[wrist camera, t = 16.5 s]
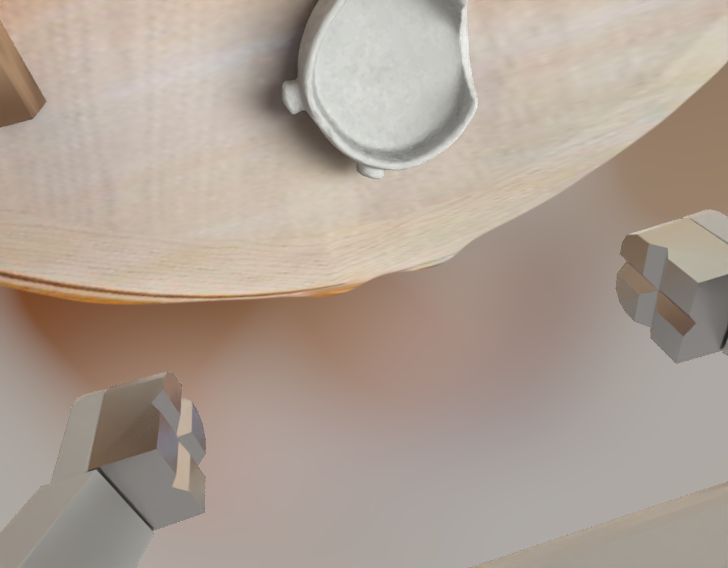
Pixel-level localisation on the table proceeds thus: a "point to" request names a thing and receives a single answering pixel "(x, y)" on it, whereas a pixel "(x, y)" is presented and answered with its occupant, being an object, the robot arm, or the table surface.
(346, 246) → the table surface
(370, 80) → the dish
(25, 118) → the collar block
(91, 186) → the table surface
